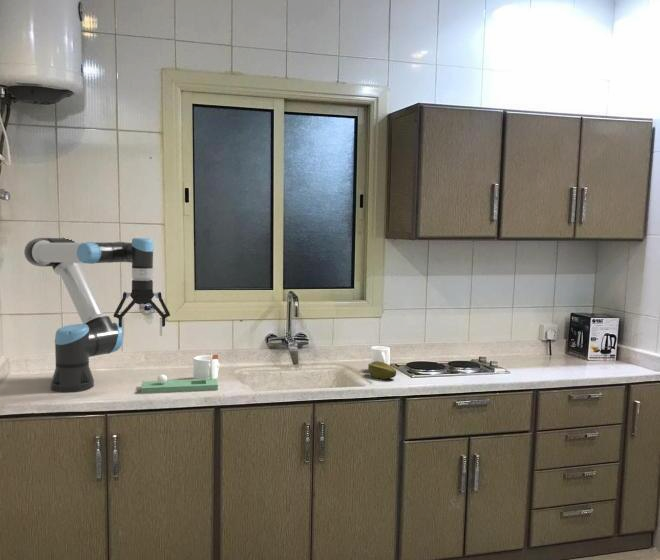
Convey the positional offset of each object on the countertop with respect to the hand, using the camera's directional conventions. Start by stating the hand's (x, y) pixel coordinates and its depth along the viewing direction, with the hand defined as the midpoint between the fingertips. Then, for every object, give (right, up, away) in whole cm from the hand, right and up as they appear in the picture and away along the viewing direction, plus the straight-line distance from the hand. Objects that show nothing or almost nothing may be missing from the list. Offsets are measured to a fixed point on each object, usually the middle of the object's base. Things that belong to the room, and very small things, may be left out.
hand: (142, 335), depth 225 cm
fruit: (+93, -21, +29) cm, 99 cm away
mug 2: (+93, -20, +39) cm, 103 cm away
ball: (+7, -17, +2) cm, 18 cm away
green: (+13, -21, +4) cm, 25 cm away
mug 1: (+21, -20, +18) cm, 34 cm away
